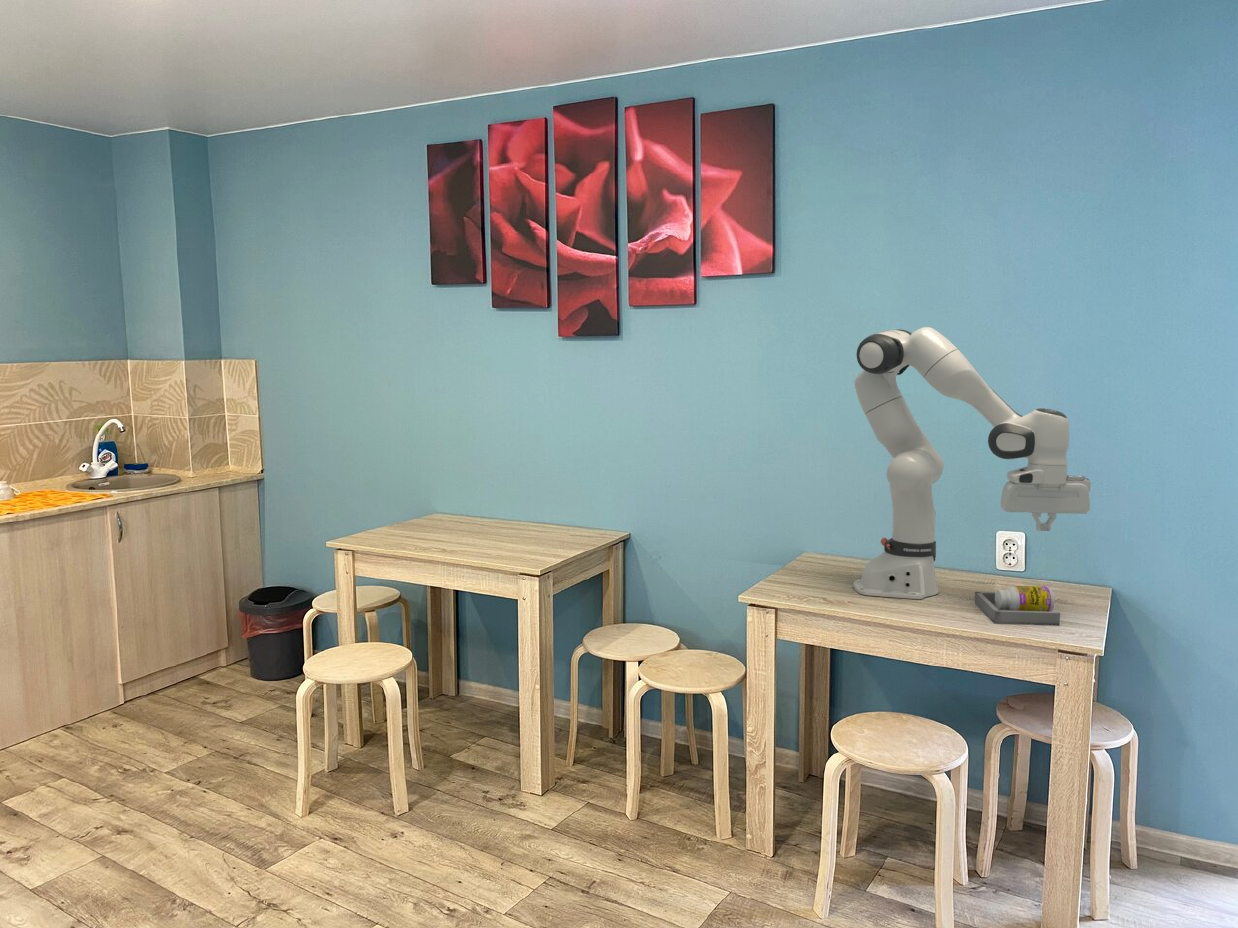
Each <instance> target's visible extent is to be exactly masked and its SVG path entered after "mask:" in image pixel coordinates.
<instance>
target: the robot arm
mask: <svg viewBox="0 0 1238 928" xmlns="http://www.w3.org/2000/svg"><path fill="white" fill-rule="evenodd" d="M856 360H857V363H858V365H859V367H860V368H861V369H862V371H861V372H860V373H858V375H857V376H856V378H855V379H854V389H855V392H856V395H857V398H858V400H859V401H858V402H859V403H860V407H861V409H862V411H863V413H864V415H865V417H866V420H867V422H868V423H869V425H870V427H871V430H872V431H873V434H874V435H875V437H876V440H877V441H878V442H879V443H880V444H881V445H883V447H884V448H885V449H886V450H887V452H888V453H889V454H890V456H891V457H892V460H891V461H890V463H889V464H888V467H887V468H886V469H887V470H886V479H887V481H888V483H889V490H890V498H891V504H892V529H891V530H892V534H891V538H889V539H888V538H887V537H881V539H880V544H881V545H882V546H883V550H884V551H883V552H881V554H879V555H877V556H876V557H874V558H873V559H871V560H870V561H868V562H867V563H866V564H865V565H864V567H863V571H862V573H861V578H860V579H855V580H854V582H853V585H852V586H853V587H852V588H853V589H854V591H855V592H856V593H858V594H860V595H864V596H870V597H872V596H873V597H883V598H884V597H885V598H898V599H899V598H900V599H909V600H910V599H913V600H922V599H924V598H927V597H933V596H934V595H937V594H939V588H938V582H937V578H936V569H935V568H936V567H935V561H936V558H937V541H936V540H935V535H936V534H935V533H936V517H937V516H936V509H935V506H934V499H933V491H932V489H933V488H932V486H933V485H934V484H935V483H937V482H938V480H939V479H940V478H941V476H942V475H943V472H944V460H943V458H942V456H941V455H940V454H939V452H937V451H936V448H934V446H933V445H932V443H931V441H930V440H929V439H928V437H927V436H926V435H925V433H924V431H923V430H922V429H921V427H920V426H919V425H918V423H917V421H916V419H915V418H914V416H913V414H912V411H911V409H910V408H909V405H908V404H907V402H906V400H905V398H904V396H903V394H902V392H901V390H900V388H899V386H898V383H897V376H901V375H902V374H904V373H905V371H906V370H907V369H908V368H909V367H910V366H911V367H912V368H914V369H915V370H916V371H917V372H918V373H919V374H920V376H921V377H922V378H923V379H924V381H926V383H928V385H930V387H932V388H933V390H936V391H937V392H938V393H940V394H941V395H943V396H945V397H947V398H951V399H955V400H959V401H962V402H964V403H966V404H968V405H970V406H971V407H973V408H974V409H975V410H976V411H978V413H979V414H980V415H982V416H983V417H984V419H986V421H988V423H990V424H991V426H993V427H992V429H991V430H990V432H989V434H988V439H987V445H988V448H989V450H990V451H991V453H992V454H993V455H994V456H996V457H998V458H999V459H1003V460H1012V461H1013V460H1016V459H1020V458H1024V459H1025V458H1026V459H1027V466H1024V467H1021V468H1017V469H1014V470H1011V471H1008V472H1007V474H1006V479H1007V480H1008V481H1007V482H1005V483H1004V485H1003V487H1002V491H1001V498H1000V507H1001V509H1002V510H1003V511H1004V512H1007V513H1030V514H1031V516H1032V518H1033V520H1034V521H1035V525H1036V526H1035V529H1036V531H1041V532H1042V531H1044V532H1045V531H1047V532H1050V531H1051V527H1052V525H1053V523H1054V521H1055V520H1056V519H1057V514H1075V515H1076V514H1083V515H1086V514H1087V513H1088V512H1090V510H1091V509H1090V508H1091V507H1090V506H1091V505H1090V504H1091V503H1090V502H1091V501H1090V491H1091V487H1092V486H1091V481H1090V479H1089V478H1087V477H1085V476H1084V475H1067V474H1068V459H1067V453H1068V449H1069V445H1070V423H1069V420H1068V419H1069V418H1068V416H1066V414H1065V413H1064V412H1061V411H1059V410H1054V409H1050V408H1035V409H1034V410H1032V411H1031V412H1030V413H1027V414H1025V415H1021V414H1019V413H1018V412H1016V411H1015V410H1014V409H1013V408H1012V407H1011V406H1010V405H1009V404H1008V403H1007V402H1005V401H1004V399H1003V398H1002V397H1000V396H999V394H997V392H995V391H994V390H993V389H992V387H990V386H989V385H988V384H987V382H986V381H985V380H984V379H983V377H982V376H981V375H980V374H979V373H978V372H977V370H976V369H975V368H974V366H973V365H972V364H971V362H970V361H969V360H968V359H967V357H966V356H965V355H964V354H963V353H962V352H961V351H960V350H959V348H957V346H955V345H954V344H953V342H951V341H950V340H949V339H948V338H947V337H945V336H944V335H943V334H942V333H941V332H939V331H938V330H936V329H935V328H934V327H929V326H923V327H921V328H918V329H916V330H915V331H913V332H910V331H909V330H905V329H902V328H901V329H899V328H898V329H891V330H890V329H889V330H883V331H880V332H878V333H874V334H870V335H868V336H867V337H864V339H863V340H862V341H861V342H860V343H859V344H858V346H857V349H856ZM1042 514H1047V517H1048V518H1047V520H1046V522H1042V521H1041V519H1040V518H1041V517H1042V516H1041V515H1042Z"/></svg>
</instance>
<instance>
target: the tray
mask: <svg viewBox="0 0 1238 928" xmlns="http://www.w3.org/2000/svg"><path fill="white" fill-rule="evenodd" d="M995 593H996V591H975V592H974V604H975V605H976V606H977V607H978V608H979V609H980V610H981V611H982V612H983V613H984V614H985V615H986V616H987V618H989V619H990V621H992V623H993V624H995V625H997V624H999V625H1001V624H1002V625H1006V624H1007V625H1029V624H1034V625H1038V626H1060V622H1061V621H1060V620H1061V612H1059V611H1052V612H1046V611H1009V610H1008V609H1007V608H1004V609H999V608H997V606H996V604H995ZM996 623H997V624H996Z"/></svg>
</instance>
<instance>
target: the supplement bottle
mask: <svg viewBox="0 0 1238 928" xmlns="http://www.w3.org/2000/svg"><path fill="white" fill-rule="evenodd" d="M995 592H996V593H995V604H996V606H997V608H999V609H1004V608H1007V609H1008V610H1009V611H1046V612H1053V610H1054V608H1055V605H1056V604H1055V603H1056V599H1055V593H1054V591H1053V589H1052V588H1051V587H1050V586H1048V585H1029V586H1028V585H1011V586H1010V585H1009V586H1008V587H1007V588H1006V589H1005V590H1003V589H997V590H996V591H995Z"/></svg>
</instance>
